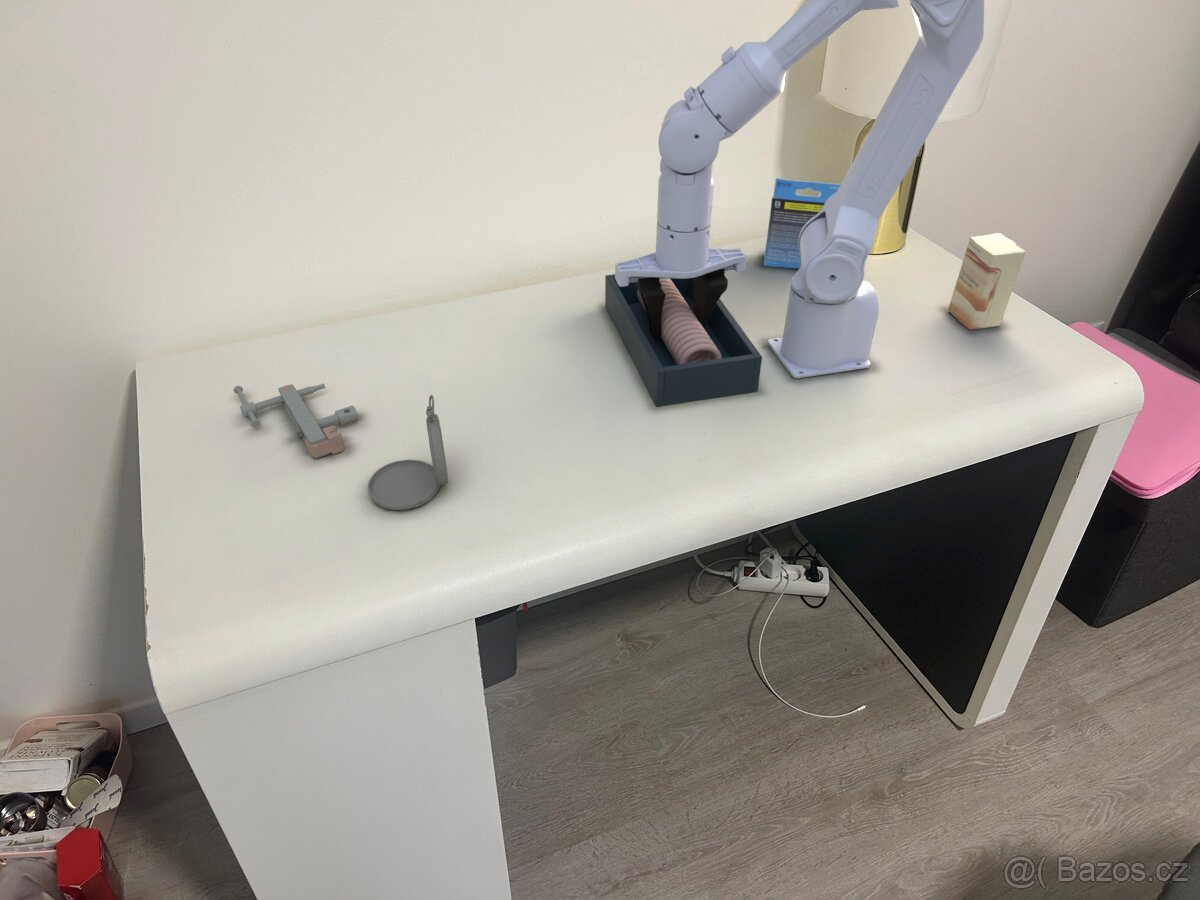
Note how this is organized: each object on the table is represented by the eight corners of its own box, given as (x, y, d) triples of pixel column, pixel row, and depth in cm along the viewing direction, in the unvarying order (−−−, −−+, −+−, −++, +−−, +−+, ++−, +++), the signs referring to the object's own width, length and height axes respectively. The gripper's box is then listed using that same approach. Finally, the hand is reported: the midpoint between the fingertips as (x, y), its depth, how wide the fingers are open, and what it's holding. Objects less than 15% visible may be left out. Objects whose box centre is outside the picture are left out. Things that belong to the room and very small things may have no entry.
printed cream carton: (945, 310, 106) (967, 235, 100) (977, 306, 107) (1001, 231, 100) (969, 331, 102) (993, 254, 96) (1001, 327, 103) (1027, 250, 96)
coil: (727, 347, 90) (674, 271, 104) (686, 349, 89) (638, 271, 102) (719, 383, 93) (668, 304, 107) (679, 386, 92) (633, 306, 105)
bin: (692, 296, 109) (694, 264, 106) (757, 391, 92) (762, 356, 90) (605, 307, 107) (605, 275, 104) (656, 407, 90) (657, 371, 87)
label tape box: (829, 260, 117) (845, 173, 109) (828, 274, 114) (845, 184, 106) (765, 254, 118) (776, 167, 110) (762, 267, 115) (774, 179, 107)
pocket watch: (355, 491, 80) (334, 405, 74) (426, 450, 85) (412, 366, 78) (408, 532, 76) (390, 445, 69) (480, 486, 80) (469, 401, 74)
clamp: (368, 424, 84) (268, 458, 80) (372, 441, 86) (273, 476, 82) (320, 355, 94) (228, 382, 90) (324, 371, 96) (234, 399, 92)
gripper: (734, 199, 94) (723, 307, 103) (608, 213, 91) (607, 322, 100) (758, 226, 89) (745, 337, 97) (625, 241, 86) (623, 354, 95)
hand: (676, 332), depth 98 cm, fingers closed on coil, 4 cm apart
